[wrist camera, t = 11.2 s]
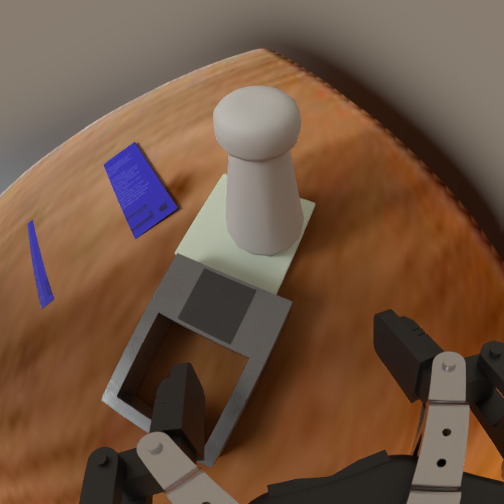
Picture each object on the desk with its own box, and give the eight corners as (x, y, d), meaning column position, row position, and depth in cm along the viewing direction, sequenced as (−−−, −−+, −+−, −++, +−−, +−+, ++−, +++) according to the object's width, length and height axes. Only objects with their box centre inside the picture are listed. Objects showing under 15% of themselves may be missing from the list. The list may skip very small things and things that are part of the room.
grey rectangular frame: (120, 399, 20) (100, 399, 17) (188, 268, 24) (177, 252, 21) (219, 457, 17) (210, 468, 15) (290, 312, 22) (292, 301, 19)
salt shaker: (291, 275, 22) (304, 154, 11) (221, 257, 23) (171, 134, 12) (308, 212, 25) (325, 80, 13) (244, 198, 26) (221, 68, 14)
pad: (176, 256, 24) (174, 253, 24) (224, 177, 28) (224, 173, 27) (274, 298, 22) (274, 296, 22) (314, 207, 25) (315, 203, 25)
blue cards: (-6, 259, 27) (-10, 257, 26) (136, 145, 32) (134, 141, 31) (6, 342, 22) (2, 340, 22) (180, 212, 27) (177, 208, 26)
